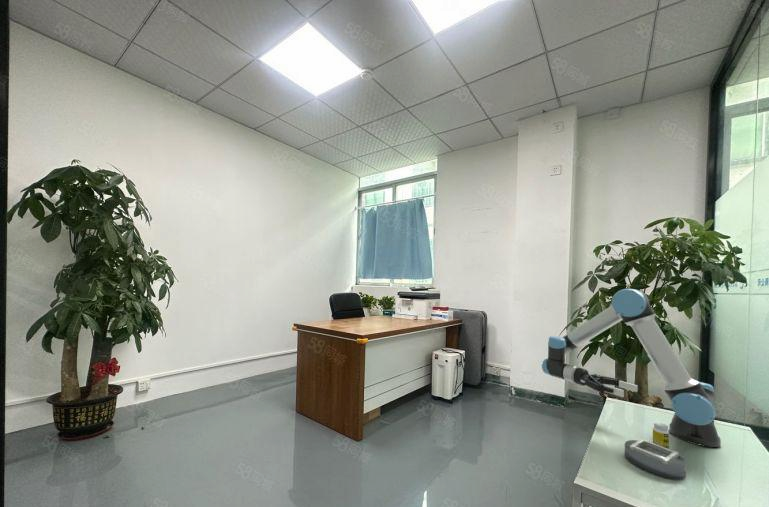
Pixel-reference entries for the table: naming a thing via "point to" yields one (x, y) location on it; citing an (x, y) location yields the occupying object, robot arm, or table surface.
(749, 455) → the table surface
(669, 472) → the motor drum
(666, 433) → the supplement bottle
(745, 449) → the table surface
